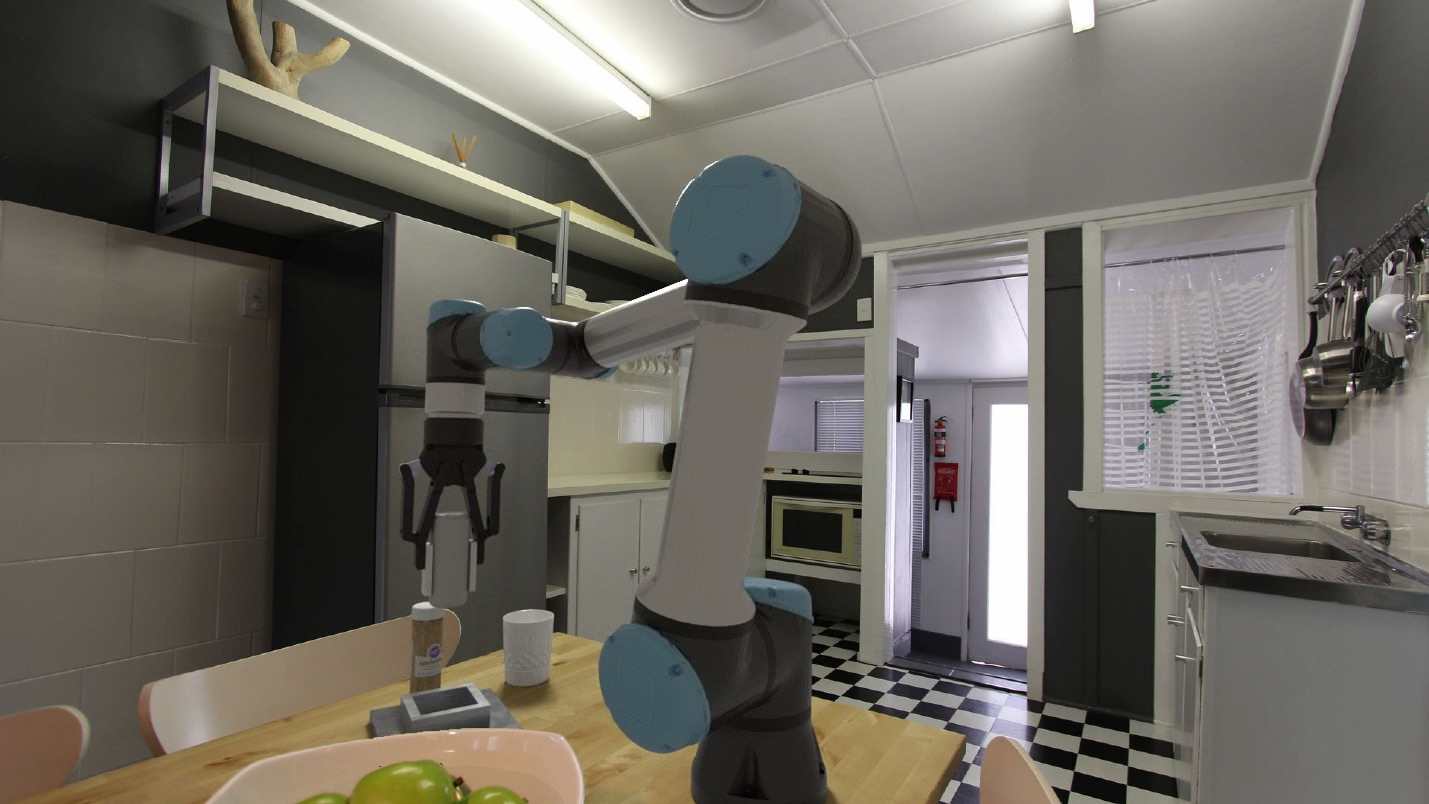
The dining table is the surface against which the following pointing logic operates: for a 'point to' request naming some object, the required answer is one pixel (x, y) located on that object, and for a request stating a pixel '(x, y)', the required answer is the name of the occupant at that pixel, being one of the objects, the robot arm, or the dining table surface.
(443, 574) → the beverage can
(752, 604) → the robot arm
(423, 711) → the gray square base
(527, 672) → the white cup
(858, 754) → the dining table surface
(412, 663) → the sprinkles bottle
